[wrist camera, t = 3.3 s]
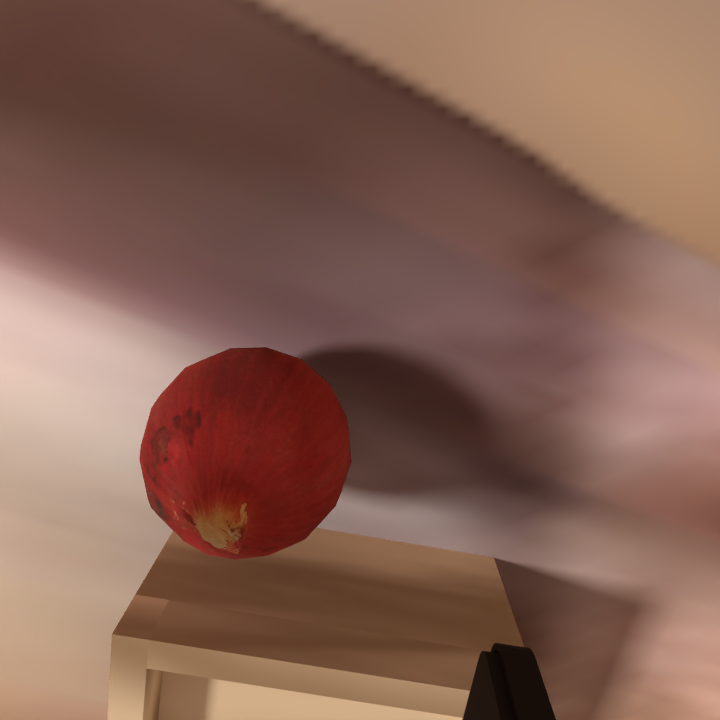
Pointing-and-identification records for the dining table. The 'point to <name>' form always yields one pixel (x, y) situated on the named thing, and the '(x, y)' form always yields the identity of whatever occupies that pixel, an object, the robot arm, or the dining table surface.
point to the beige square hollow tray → (308, 633)
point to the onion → (245, 453)
